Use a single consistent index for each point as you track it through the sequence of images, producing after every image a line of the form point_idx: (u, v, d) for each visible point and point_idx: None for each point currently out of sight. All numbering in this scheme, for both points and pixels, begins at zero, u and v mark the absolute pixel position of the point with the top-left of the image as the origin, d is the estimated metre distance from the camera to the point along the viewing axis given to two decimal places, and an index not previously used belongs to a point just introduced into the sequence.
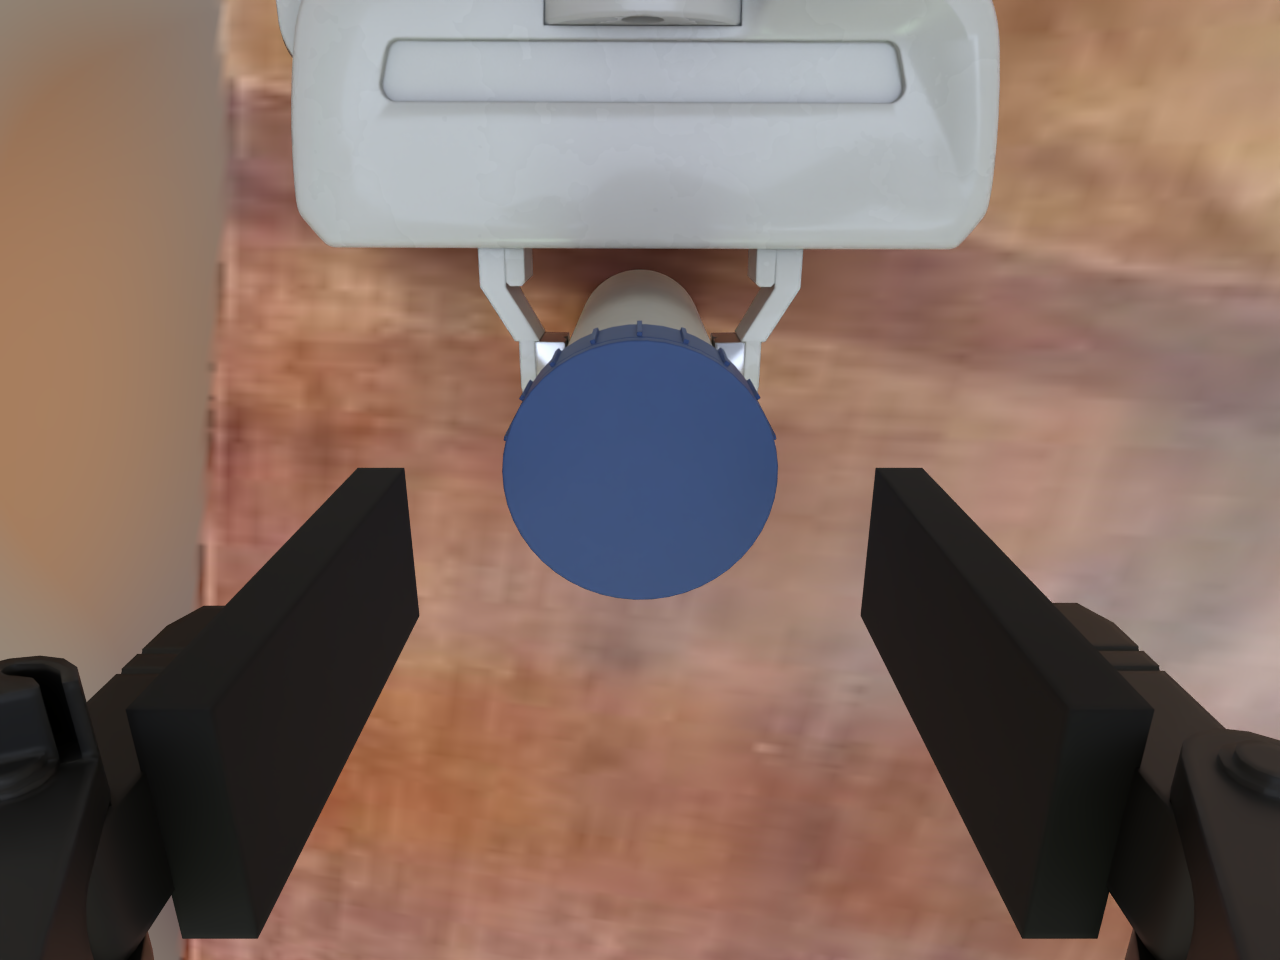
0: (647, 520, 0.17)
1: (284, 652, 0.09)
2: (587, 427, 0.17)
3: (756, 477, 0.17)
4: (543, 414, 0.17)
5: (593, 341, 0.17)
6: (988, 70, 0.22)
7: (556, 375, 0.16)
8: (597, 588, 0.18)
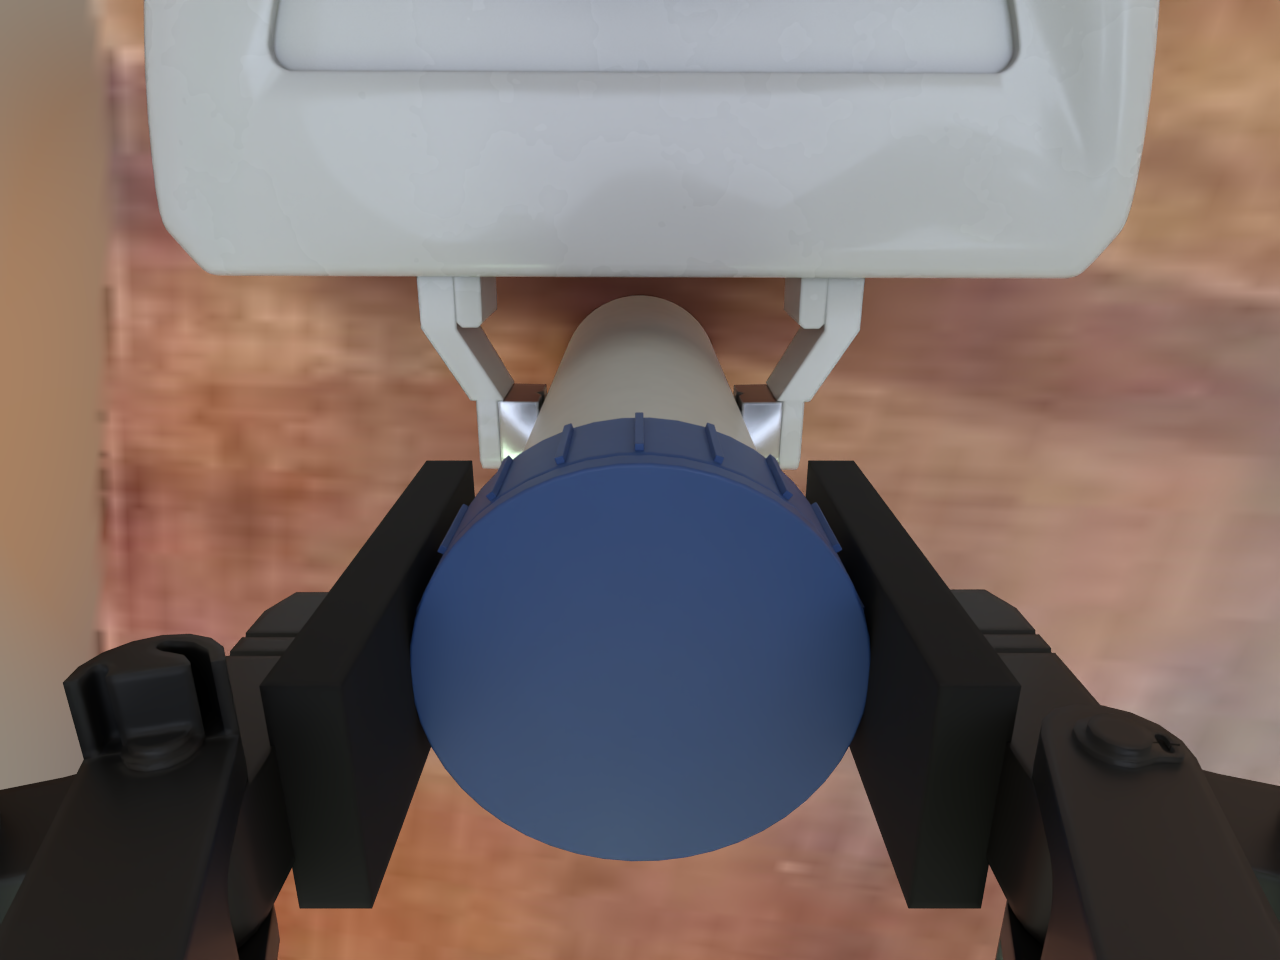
0: (652, 747, 0.11)
1: (389, 634, 0.09)
2: (550, 604, 0.10)
3: (835, 681, 0.10)
4: (475, 584, 0.10)
5: (560, 459, 0.10)
6: (1144, 24, 0.15)
7: (496, 520, 0.10)
8: (571, 845, 0.11)
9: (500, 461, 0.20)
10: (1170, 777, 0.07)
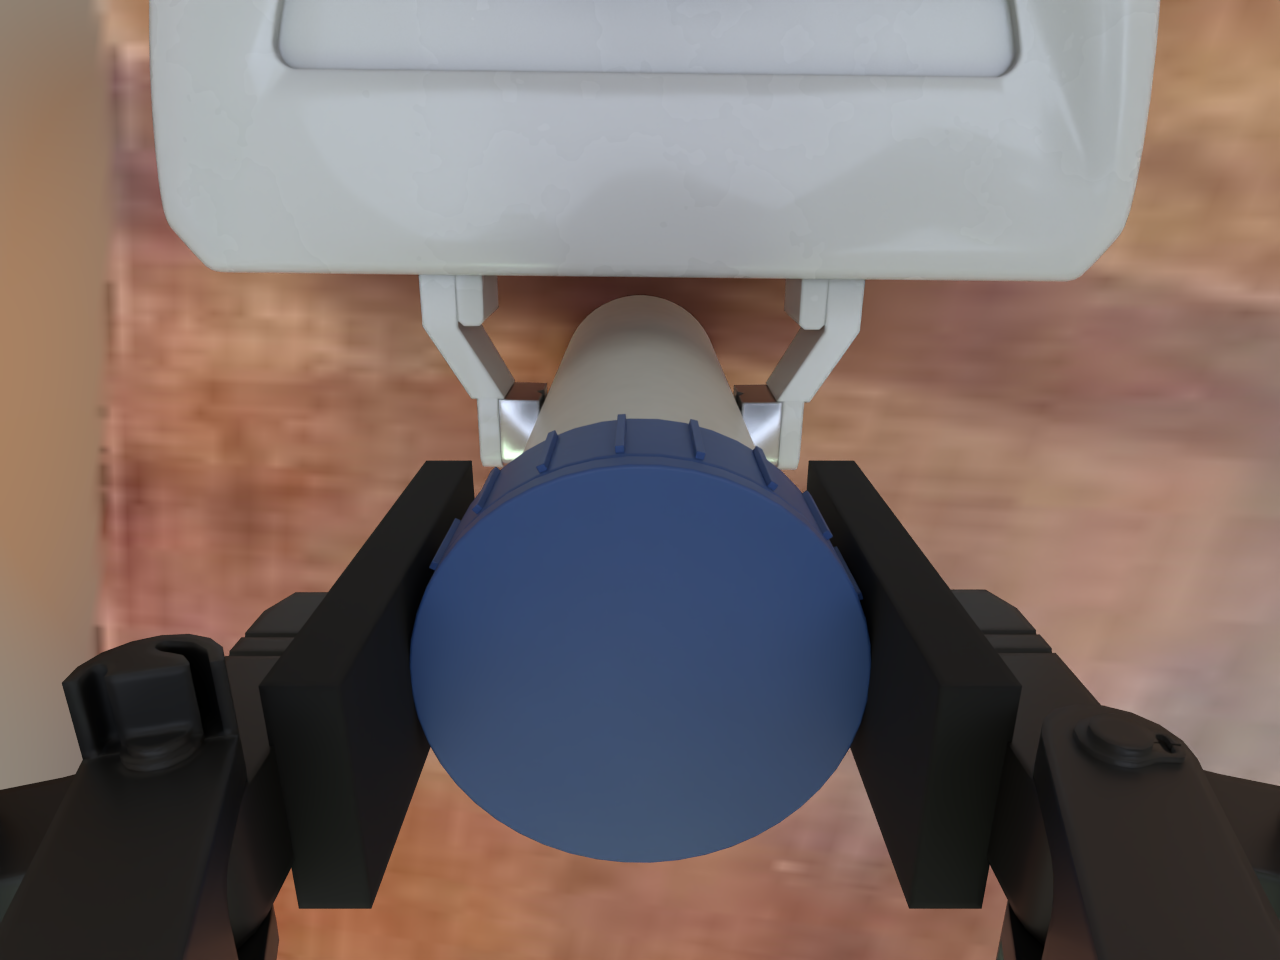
0: (720, 684, 0.10)
1: (388, 634, 0.09)
2: (542, 742, 0.10)
3: (675, 505, 0.09)
4: (512, 795, 0.11)
5: None
6: (1144, 30, 0.16)
7: (455, 766, 0.11)
8: (823, 773, 0.11)
9: (500, 459, 0.20)
10: (1171, 777, 0.07)
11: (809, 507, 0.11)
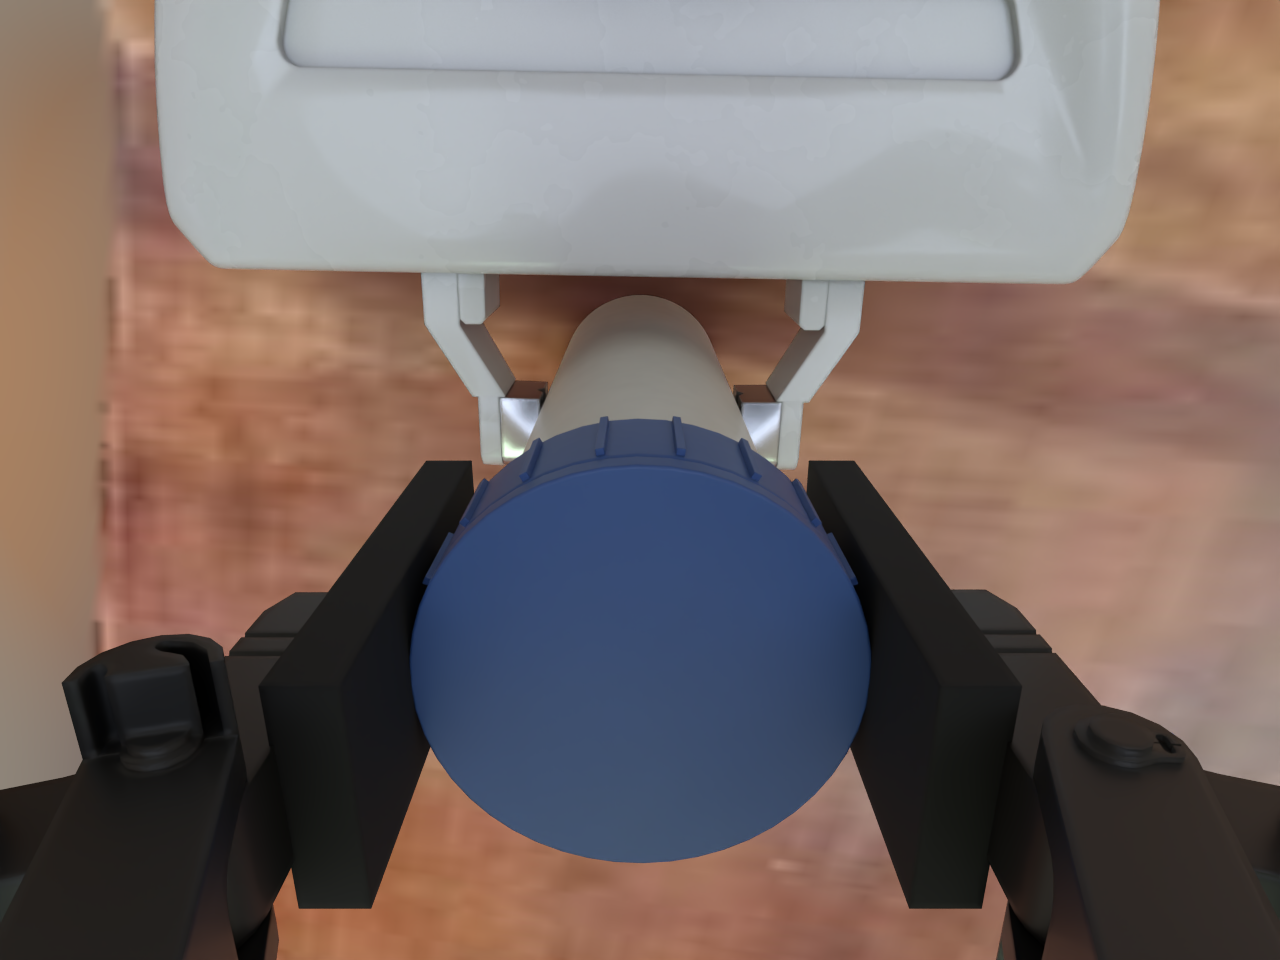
0: (654, 613, 0.10)
1: (389, 635, 0.09)
2: (690, 774, 0.11)
3: (451, 628, 0.10)
4: (746, 809, 0.11)
5: None
6: (1143, 35, 0.16)
7: (704, 845, 0.11)
8: (790, 525, 0.09)
9: (501, 457, 0.20)
10: (1172, 778, 0.07)
11: None
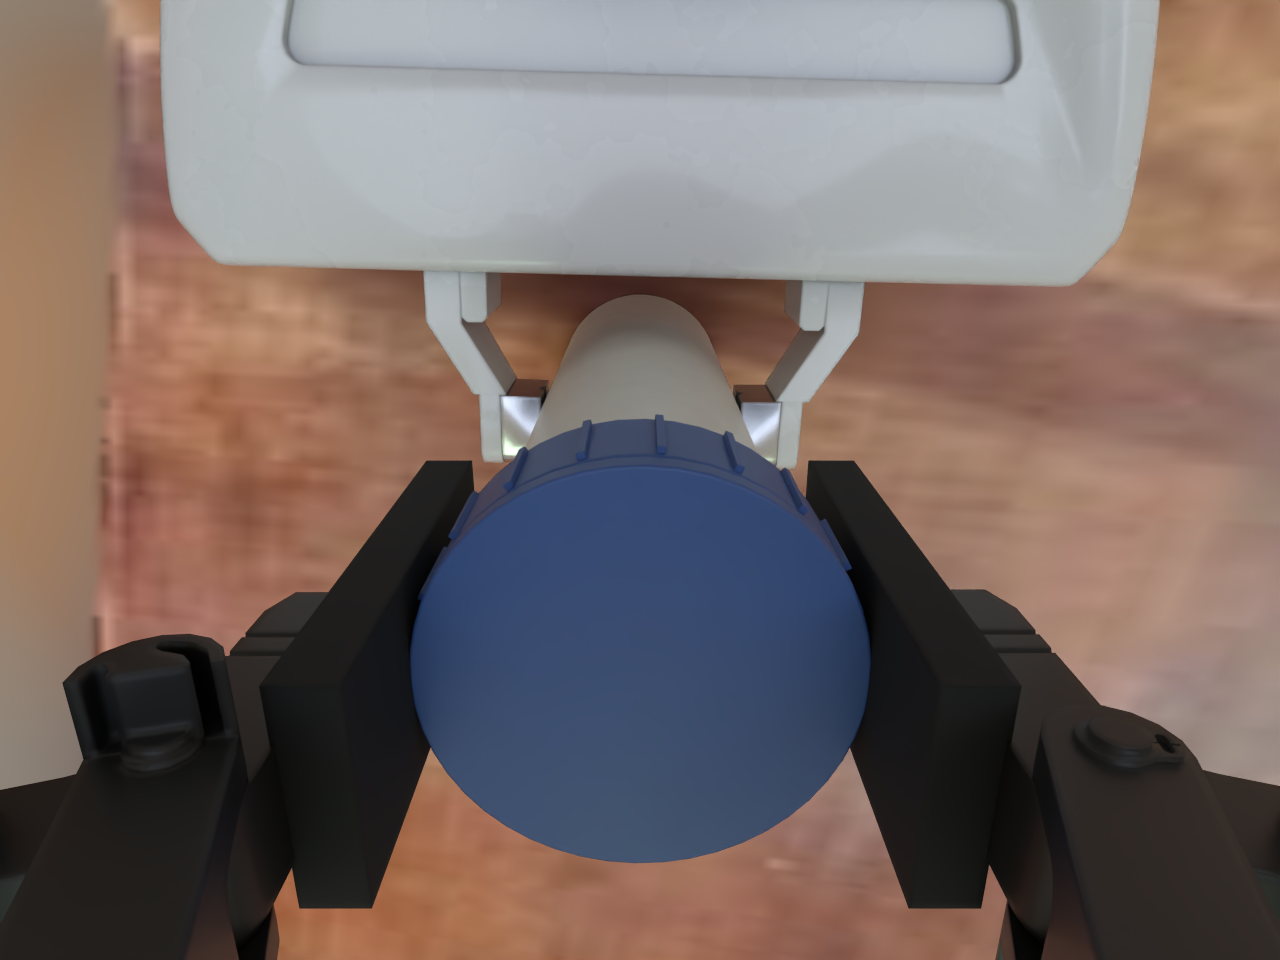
0: (564, 660, 0.10)
1: (389, 634, 0.09)
2: (760, 655, 0.10)
3: (552, 821, 0.11)
4: (819, 609, 0.10)
5: None
6: (1143, 40, 0.16)
7: (859, 652, 0.10)
8: (484, 531, 0.10)
9: (501, 455, 0.20)
10: (1171, 777, 0.07)
11: None
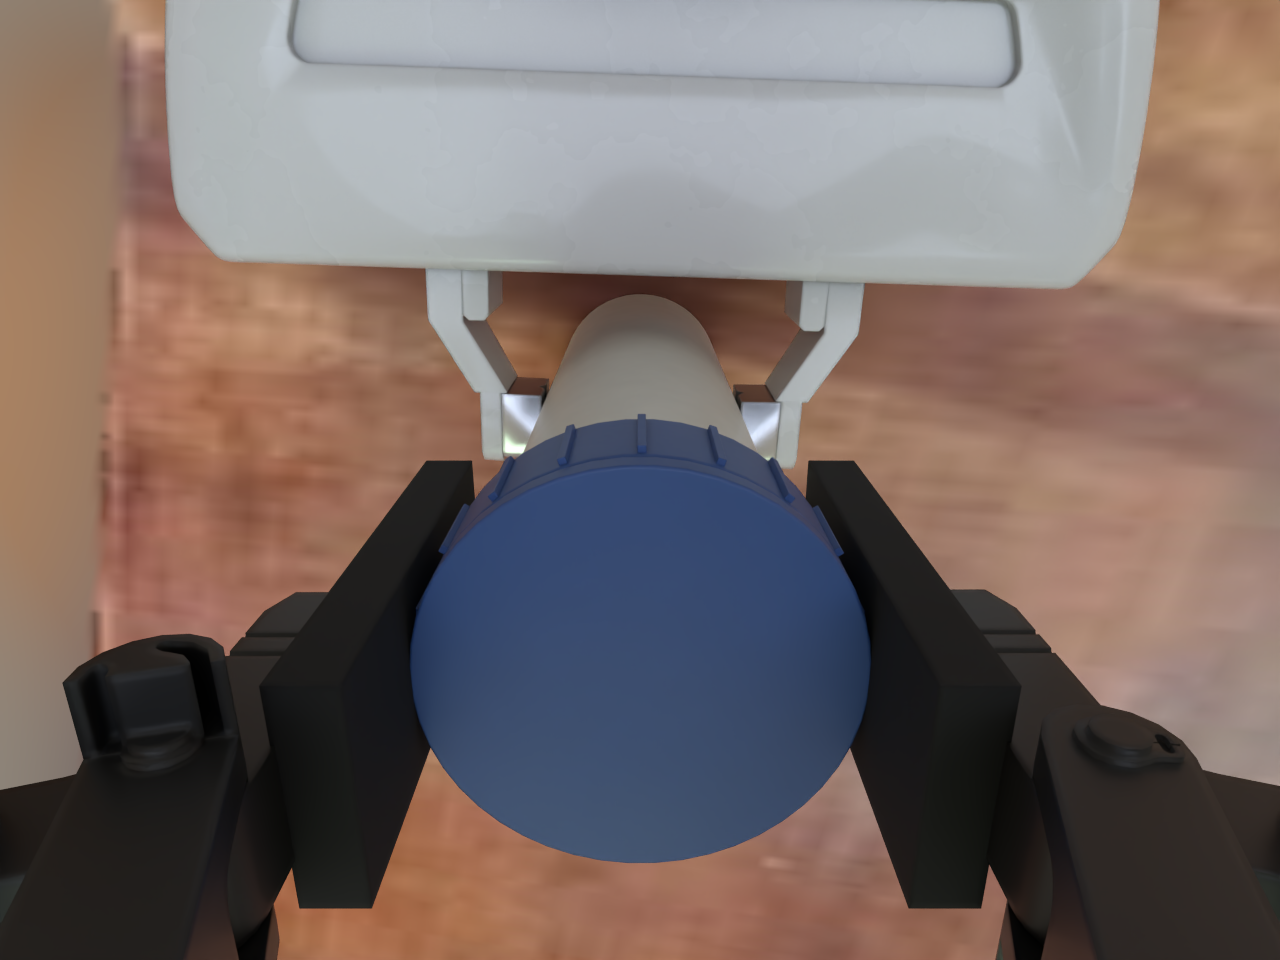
0: (602, 741, 0.10)
1: (388, 634, 0.09)
2: (626, 573, 0.10)
3: (786, 782, 0.11)
4: (580, 513, 0.09)
5: (722, 462, 0.10)
6: (1142, 45, 0.16)
7: (643, 476, 0.09)
8: (461, 778, 0.11)
9: (502, 453, 0.20)
10: (1171, 778, 0.07)
11: None
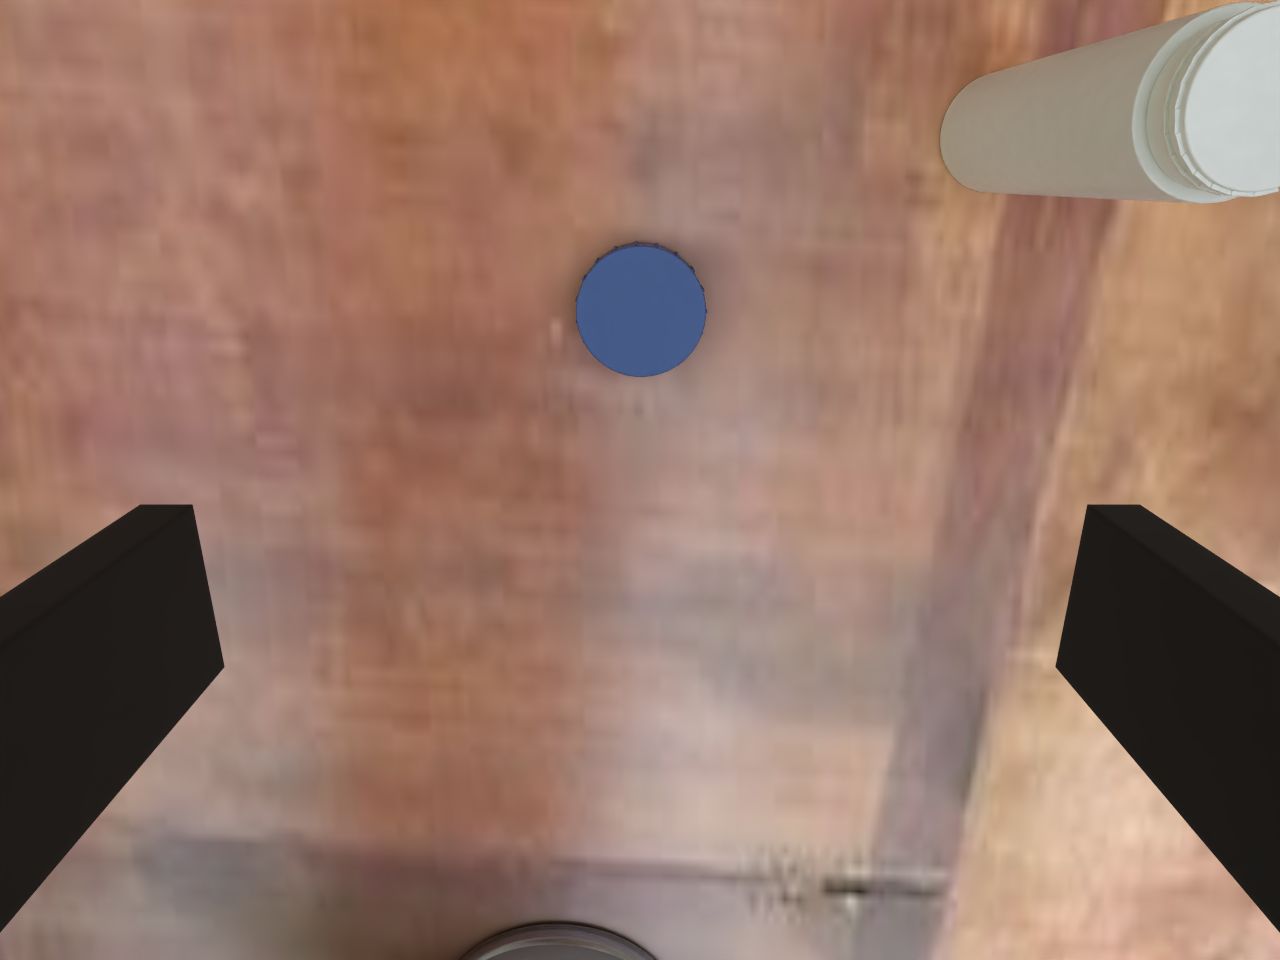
0: (658, 327, 0.36)
1: None
2: (606, 311, 0.36)
3: (682, 275, 0.36)
4: (587, 320, 0.36)
5: (583, 279, 0.36)
6: None
7: (580, 302, 0.36)
8: (663, 369, 0.37)
9: None
10: None
11: None
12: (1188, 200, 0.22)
